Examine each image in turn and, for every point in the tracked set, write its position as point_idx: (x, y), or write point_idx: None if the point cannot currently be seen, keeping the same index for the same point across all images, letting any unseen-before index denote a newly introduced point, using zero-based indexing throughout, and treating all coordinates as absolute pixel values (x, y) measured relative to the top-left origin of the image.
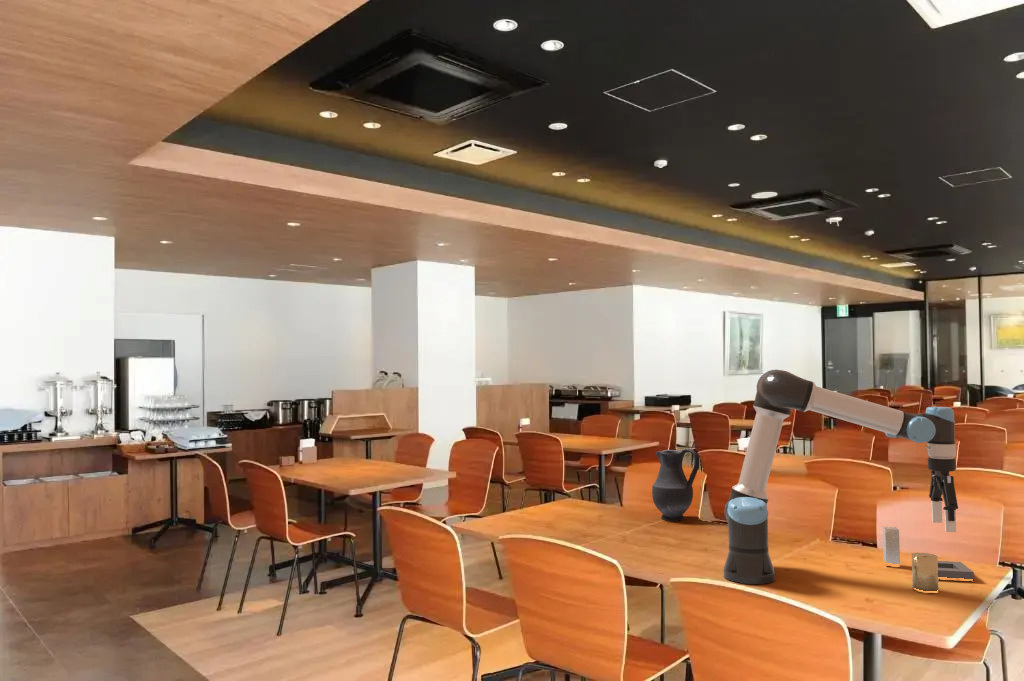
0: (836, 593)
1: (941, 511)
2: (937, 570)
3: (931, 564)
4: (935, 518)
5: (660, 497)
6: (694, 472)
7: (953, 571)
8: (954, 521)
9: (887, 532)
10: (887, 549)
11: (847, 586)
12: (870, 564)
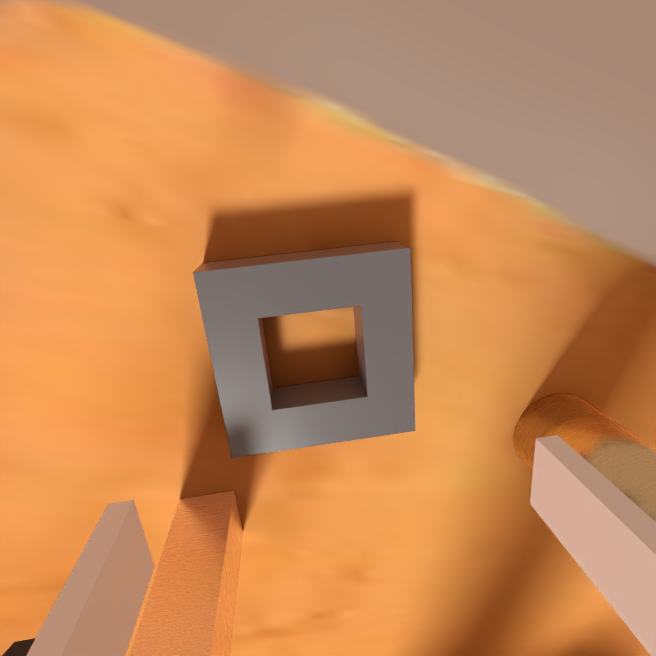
0: (606, 630)
1: (82, 620)
2: (647, 444)
3: None
4: (134, 584)
5: None
6: None
7: (411, 336)
8: (633, 515)
9: None
10: (234, 595)
11: (535, 615)
12: None
